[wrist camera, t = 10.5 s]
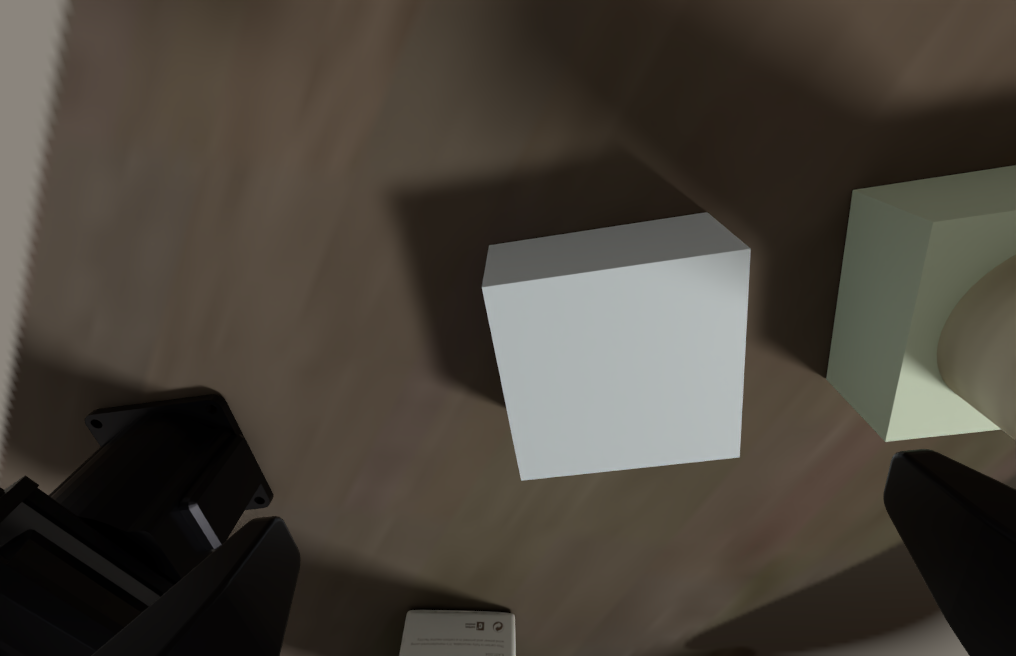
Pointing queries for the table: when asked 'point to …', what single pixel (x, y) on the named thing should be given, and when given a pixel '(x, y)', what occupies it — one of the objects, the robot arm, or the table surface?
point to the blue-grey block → (621, 344)
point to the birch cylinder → (984, 347)
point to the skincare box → (458, 633)
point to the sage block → (915, 295)
